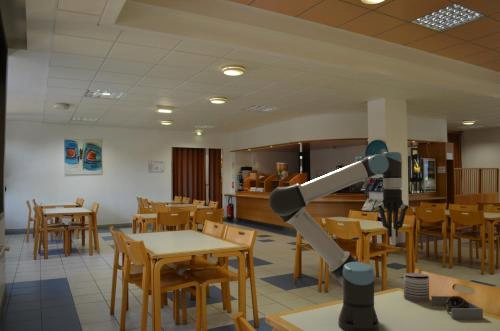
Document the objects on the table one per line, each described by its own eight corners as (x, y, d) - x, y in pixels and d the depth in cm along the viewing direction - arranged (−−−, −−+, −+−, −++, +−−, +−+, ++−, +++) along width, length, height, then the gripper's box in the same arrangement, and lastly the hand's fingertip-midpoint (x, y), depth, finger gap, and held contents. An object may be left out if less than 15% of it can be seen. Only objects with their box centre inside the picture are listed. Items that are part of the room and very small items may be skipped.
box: (452, 319, 161) (452, 309, 161) (431, 304, 179) (431, 296, 179) (482, 319, 161) (482, 309, 161) (458, 305, 179) (458, 296, 179)
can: (406, 301, 183) (406, 275, 184) (401, 294, 195) (401, 270, 195) (432, 303, 181) (432, 277, 182) (426, 296, 192) (425, 271, 193)
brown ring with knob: (478, 318, 163) (471, 302, 162) (456, 327, 165) (449, 311, 163) (463, 302, 175) (456, 287, 174) (443, 310, 176) (436, 295, 175)
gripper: (404, 188, 170) (404, 243, 169) (374, 188, 170) (374, 243, 169) (411, 188, 163) (411, 246, 162) (380, 188, 163) (380, 246, 162)
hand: (392, 244), depth 166 cm, fingers closed
